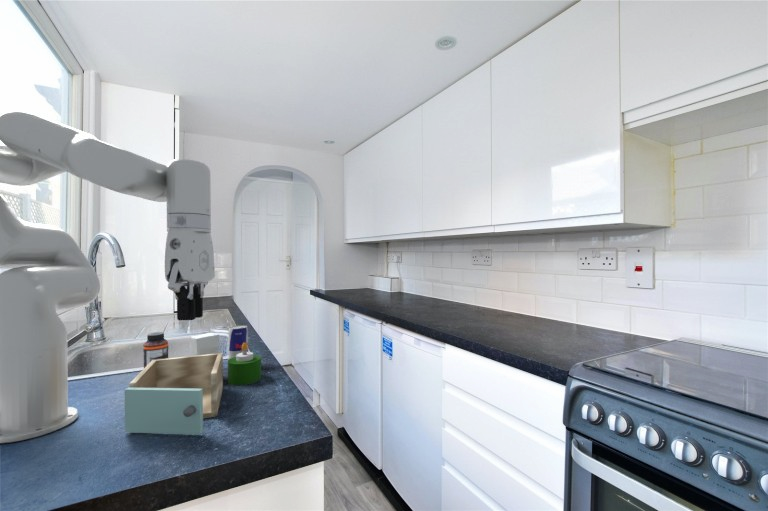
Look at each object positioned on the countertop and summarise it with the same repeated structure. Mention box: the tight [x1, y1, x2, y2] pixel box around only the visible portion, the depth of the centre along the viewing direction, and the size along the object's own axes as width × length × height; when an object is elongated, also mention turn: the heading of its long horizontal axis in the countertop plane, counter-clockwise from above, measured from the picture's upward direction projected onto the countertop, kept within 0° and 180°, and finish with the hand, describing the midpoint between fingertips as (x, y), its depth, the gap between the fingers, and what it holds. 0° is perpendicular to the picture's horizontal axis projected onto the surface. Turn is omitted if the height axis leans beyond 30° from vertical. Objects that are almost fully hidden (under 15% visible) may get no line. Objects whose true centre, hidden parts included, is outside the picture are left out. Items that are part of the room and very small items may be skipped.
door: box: [124, 387, 204, 435], centre depth 63 cm, size 14×2×8 cm, turn 86°
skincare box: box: [189, 332, 221, 356], centre depth 92 cm, size 6×4×12 cm
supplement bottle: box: [142, 331, 169, 369], centre depth 98 cm, size 6×6×11 cm
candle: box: [227, 343, 262, 386], centre depth 92 cm, size 8×8×10 cm
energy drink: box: [227, 324, 249, 360], centre depth 102 cm, size 5×5×12 cm
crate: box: [128, 352, 224, 420], centre depth 75 cm, size 15×16×9 cm
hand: (190, 317), depth 66 cm, fingers closed
